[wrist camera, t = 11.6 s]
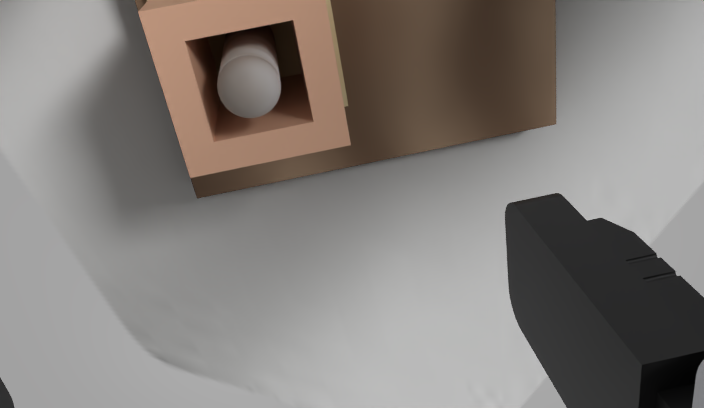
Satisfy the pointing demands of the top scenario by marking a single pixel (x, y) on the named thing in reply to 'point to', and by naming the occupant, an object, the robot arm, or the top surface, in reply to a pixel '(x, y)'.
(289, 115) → the sleeve
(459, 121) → the post board
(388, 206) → the top surface
